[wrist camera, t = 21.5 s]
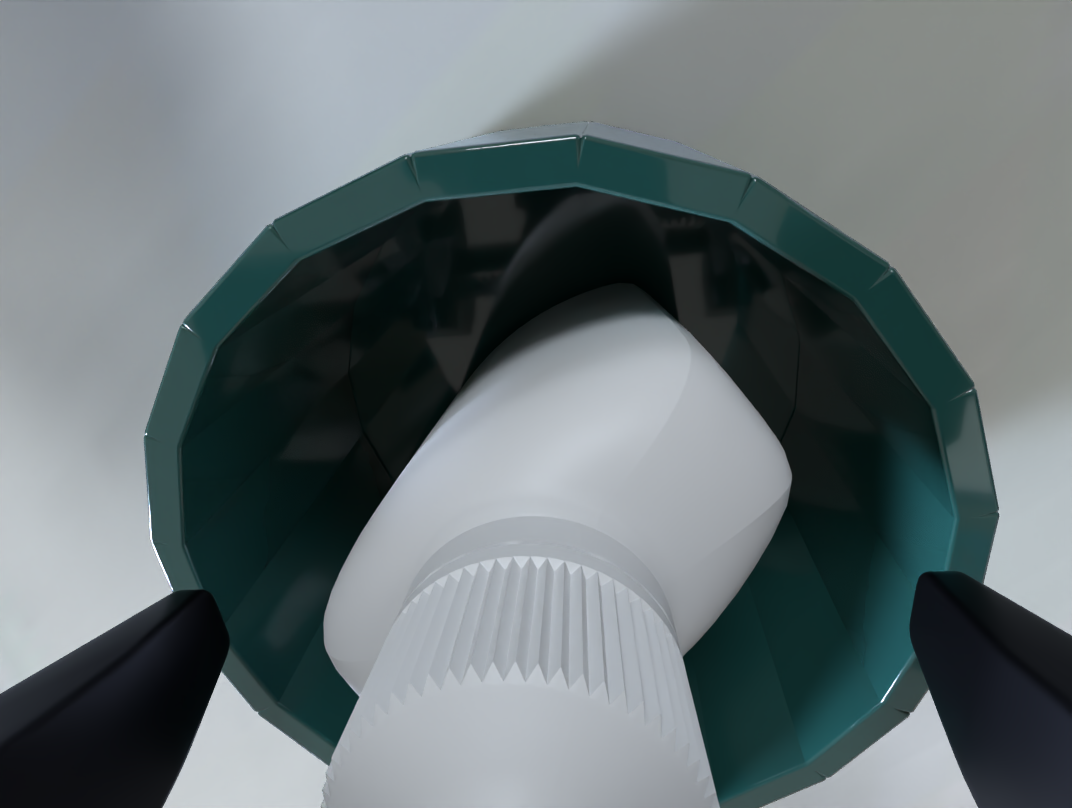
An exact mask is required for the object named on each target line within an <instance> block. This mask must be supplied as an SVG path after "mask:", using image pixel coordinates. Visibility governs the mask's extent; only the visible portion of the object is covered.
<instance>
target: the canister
mask: <svg viewBox="0 0 1072 808" xmlns="http://www.w3.org/2000/svg"><path fill="white" fill-rule="evenodd" d="M615 283H630V284H634V285H636V286H637V287H639V288H640V289H642V290H643V291H645V292H646V293H647V294H649V295H650V296H651V297H652V298H653V299H654V300H655V301H656V302H657V303H659V304H660V305H661V306H662V307H663V308H664V309H665V310H666V311H667V312H668V313H669V314H670V315H672V316H673V317H674V318H675V319H676V320H677V321H678V322H679V323H680V324H681V325H682V326H683V327H684V328H685V329H686V330H687V331H689V332H690V333H691V334H692V335H693V337H694V338H695V339H696V340H697V341H698V342H699V343H700V344H701V345H702V346H703V347H704V348H705V349H706V351H707V352H708V353H709V354H710V355H711V356H712V357H713V358H714V359H715V361H716V362H717V363H718V364H719V365H720V366H721V367H722V368H723V369H724V371H725V372H726V373H727V374H728V375H729V376H730V378H731V379H732V380H733V381H734V383H735V384H736V385H737V386H738V388H739V389H740V390H741V391H742V393H743V394H744V395H745V396H746V398H747V399H748V400H749V401H750V403H751V404H752V405H753V406H754V408H755V409H756V410H757V411H758V413H759V414H760V415H761V416H762V418H763V419H764V420H765V422H766V423H767V425H768V426H769V427H770V429H771V430H772V432H773V433H774V434H775V436H776V437H777V439H778V440H779V442H780V444H781V446H782V447H783V449H784V451H785V454H786V457H787V460H788V463H789V466H790V469H791V472H792V482H791V487H790V492H789V498H788V503H787V507H786V509H785V511H784V513H783V515H782V518H781V520H780V522H779V524H778V526H777V528H776V531H775V533H774V535H773V537H772V539H771V541H770V542H769V544H768V546H767V547H766V549H765V551H764V552H763V554H762V556H761V558H760V559H759V561H758V563H757V564H756V566H755V567H754V569H753V571H752V572H751V574H750V575H749V577H748V578H747V580H746V581H745V583H744V584H743V586H742V587H741V589H740V590H739V592H738V593H737V594H736V596H735V597H734V598H733V599H732V601H731V602H730V603H729V604H728V606H727V607H726V608H725V610H724V611H723V612H722V613H721V615H720V616H719V617H718V619H717V620H716V621H715V622H714V624H713V625H712V626H711V627H710V628H709V629H708V630H707V632H706V633H705V634H704V635H703V636H702V637H701V638H700V639H699V641H698V642H697V643H696V644H695V645H694V646H693V647H692V648H691V649H690V650H689V651H688V652H687V653H686V654H685V655H684V656H683V661H684V665H685V669H686V674H687V678H688V682H689V686H690V690H691V694H692V698H693V702H694V706H695V710H696V714H697V718H698V722H699V726H700V730H701V734H702V738H703V742H704V746H705V750H706V754H707V758H708V762H709V766H710V770H711V774H712V778H713V782H714V786H715V790H716V795H717V799H718V803H719V807H720V808H760V807H763V806H765V805H767V804H770V803H772V802H775V801H777V800H779V799H782V798H784V797H786V796H789V795H791V794H794V793H796V792H798V791H801V790H803V789H805V788H808V787H810V786H813V785H815V784H817V783H820V782H822V781H824V780H825V779H826V778H829V777H831V776H832V775H834V774H835V773H836V772H838V771H839V770H840V769H842V768H843V767H844V766H845V765H847V764H848V763H849V762H851V761H852V760H853V759H855V758H856V757H857V756H858V755H860V754H861V753H862V752H864V751H865V750H866V749H867V748H869V747H870V746H871V745H873V744H874V743H875V742H877V741H878V740H879V739H880V738H882V737H883V736H884V735H886V734H887V733H888V732H890V731H891V730H892V729H893V728H895V727H896V726H897V725H899V724H900V723H901V722H902V721H904V720H905V719H906V718H908V717H909V715H910V713H911V712H913V711H914V710H915V709H916V707H917V706H918V704H919V703H920V701H921V700H922V698H923V697H924V696H925V694H926V693H927V691H928V690H929V688H928V685H927V683H926V680H925V677H924V675H923V672H922V670H921V667H920V664H919V662H918V659H917V657H916V654H915V651H914V649H913V646H912V643H911V638H910V632H909V625H910V618H911V613H912V607H913V601H914V596H915V590H916V585H917V581H918V578H919V577H920V575H921V574H922V573H925V572H928V571H959V572H962V573H964V574H966V575H968V576H970V577H972V578H973V579H975V580H977V581H979V582H980V583H982V584H983V583H984V579H985V575H986V570H987V566H988V562H989V558H990V553H991V549H992V545H993V541H994V536H995V532H996V528H997V524H998V519H999V513H998V510H999V507H998V501H997V496H996V491H995V485H994V480H993V475H992V469H991V464H990V459H989V454H988V448H987V443H986V438H985V432H984V427H983V422H982V416H981V411H980V406H979V400H978V395H977V390H976V389H975V388H974V387H975V386H974V382H973V380H972V379H971V378H970V376H969V375H968V373H967V372H966V370H965V369H964V367H963V366H962V364H961V363H960V362H959V360H958V359H957V357H956V356H955V354H954V353H953V351H952V350H951V349H950V347H949V346H948V344H947V343H946V341H945V340H944V338H943V337H942V335H941V334H940V333H939V331H938V330H937V328H936V327H935V325H934V324H933V322H932V321H931V319H930V318H929V317H928V315H927V314H926V312H925V311H924V309H923V308H922V306H921V305H920V304H919V302H918V301H917V299H916V298H915V296H914V295H913V293H912V292H911V290H910V289H909V288H908V286H907V285H906V283H905V282H904V280H903V279H902V277H901V276H900V274H899V273H898V272H897V270H896V269H895V268H893V267H891V266H890V265H889V263H888V262H887V261H886V260H884V259H883V258H881V257H880V256H878V255H877V254H875V253H874V252H872V251H871V250H869V249H868V248H866V247H865V246H863V245H862V244H860V243H859V242H857V241H856V240H854V239H852V238H851V237H849V236H848V235H846V234H845V233H843V232H842V231H840V230H839V229H837V228H836V227H834V226H833V225H831V224H830V223H828V222H827V221H825V220H824V219H822V218H821V217H819V216H818V215H816V214H815V213H813V212H812V211H810V210H809V209H807V208H805V207H804V206H802V205H801V204H799V203H798V202H796V201H795V200H793V199H792V198H790V197H789V196H787V195H786V194H784V193H783V192H781V191H780V190H778V189H777V188H775V187H774V186H772V185H771V184H769V183H768V182H766V181H765V180H763V179H762V178H760V177H758V176H756V175H753V174H751V173H749V172H747V171H744V170H742V169H740V168H737V167H735V166H733V165H730V164H728V163H726V162H723V161H721V160H719V159H716V158H714V157H712V156H709V155H707V154H705V153H702V152H700V151H698V150H695V149H693V148H691V147H689V146H686V145H684V144H682V143H679V142H677V141H673V140H669V139H665V138H661V137H656V136H652V135H648V134H644V133H639V132H635V131H631V130H627V129H623V128H619V127H614V126H610V125H605V124H601V123H597V122H593V121H591V122H589V123H588V122H587V121H581V122H572V123H563V124H555V125H543V126H537V127H528V128H519V129H510V130H501V131H497V132H493V133H489V134H485V135H481V136H476V137H472V138H468V139H464V140H460V141H456V142H452V143H447V144H443V145H439V146H435V147H431V148H427V149H423V150H418V151H415V152H413V153H408V154H404V155H402V156H400V157H398V158H396V159H394V160H392V161H390V162H388V163H386V164H384V165H382V166H380V167H378V168H376V169H374V170H372V171H370V172H368V173H366V174H364V175H362V176H360V177H358V178H356V179H354V180H352V181H350V182H348V183H346V184H344V185H342V186H340V187H338V188H336V189H334V190H332V191H330V192H328V193H326V194H324V195H322V196H320V197H318V198H316V199H314V200H312V201H310V202H308V203H306V204H304V205H302V206H300V207H298V208H296V209H294V210H292V211H290V212H288V213H286V214H284V215H282V216H280V217H279V218H277V219H275V220H274V221H273V223H272V224H269V225H267V226H266V227H265V228H264V229H263V231H262V232H261V233H260V234H259V235H258V236H257V237H256V238H255V240H254V241H253V242H252V243H251V244H250V245H249V246H248V248H247V249H246V250H245V251H244V252H243V253H242V254H241V255H240V257H239V258H238V259H237V260H236V261H235V262H234V263H233V265H232V266H231V267H230V268H229V269H228V270H227V271H226V272H225V274H224V275H223V276H222V277H221V278H220V279H219V280H218V282H217V283H216V284H215V285H214V286H213V287H212V288H211V289H210V291H209V292H208V293H207V294H206V295H205V296H204V297H203V298H202V300H201V301H200V302H199V303H198V304H197V305H196V306H195V308H194V309H193V310H192V311H191V312H190V313H189V314H188V315H187V317H186V318H185V319H184V322H183V324H182V325H181V326H180V328H179V331H178V334H177V337H176V340H175V343H174V346H173V349H172V352H171V355H170V358H169V361H168V364H167V367H166V370H165V373H164V376H163V379H162V382H161V385H160V388H159V391H158V394H157V397H156V400H155V403H154V406H153V409H152V412H151V415H150V418H149V421H148V424H147V427H146V430H145V434H146V435H145V436H144V450H145V464H146V479H147V494H148V509H149V524H150V538H151V541H153V543H152V546H153V548H154V550H155V553H156V555H157V557H158V559H159V562H160V564H161V566H162V569H163V571H164V573H165V576H166V578H167V580H168V583H169V585H170V587H171V589H172V592H173V593H174V592H176V591H179V590H200V589H203V590H207V591H209V592H210V593H211V594H212V595H213V596H214V598H215V600H216V603H217V605H218V608H219V610H220V613H221V615H222V618H223V620H224V623H225V625H226V628H227V630H228V633H229V638H230V646H229V651H228V655H227V658H226V660H225V663H224V665H223V668H222V670H221V671H222V673H223V674H224V675H225V676H226V677H227V679H228V680H229V681H230V682H231V683H232V685H233V686H234V687H235V688H236V689H237V691H238V692H239V693H240V694H241V695H242V697H243V698H244V699H245V700H246V701H247V703H248V704H249V705H250V706H251V707H252V709H253V710H254V711H256V712H258V714H259V715H260V716H261V717H262V718H264V719H265V720H266V721H268V722H269V723H270V724H272V725H273V726H275V727H276V728H277V729H279V730H280V731H281V732H283V733H284V734H286V735H287V736H288V737H290V738H291V739H292V740H294V741H295V742H296V743H298V744H299V745H301V746H302V747H303V748H305V749H306V750H307V751H309V752H310V753H311V754H313V755H314V756H316V757H317V758H318V759H320V760H321V761H322V762H324V763H325V764H327V765H328V766H329V765H330V763H331V761H332V759H331V757H332V755H333V753H334V751H335V749H336V747H337V744H338V742H339V740H340V738H341V736H342V734H343V731H344V729H345V727H346V725H347V723H348V721H349V718H350V716H351V714H352V712H353V710H354V708H355V705H356V703H357V701H358V699H359V696H358V695H357V694H356V693H355V692H354V690H353V689H352V688H351V687H350V686H349V685H348V683H347V682H346V681H345V680H344V679H343V677H342V676H341V675H340V674H339V673H338V671H337V670H336V669H335V667H334V665H333V663H332V661H331V659H330V657H329V655H328V653H327V651H326V649H325V645H324V625H323V622H324V614H325V611H326V607H327V604H328V601H329V598H330V595H331V591H332V589H333V587H334V585H335V582H336V580H337V578H338V575H339V573H340V571H341V569H342V567H343V565H344V563H345V561H346V559H347V557H348V555H349V554H350V552H351V550H352V548H353V546H354V544H355V543H356V541H357V539H358V537H359V535H360V534H361V532H362V531H363V529H364V527H365V526H366V524H367V523H368V521H369V520H370V518H371V517H372V515H373V514H374V512H375V511H376V509H377V508H378V506H379V505H380V503H381V502H382V500H383V499H384V497H385V496H386V495H387V493H388V492H389V490H390V489H391V487H392V486H393V484H394V483H395V481H396V480H397V479H398V477H399V476H400V474H401V473H402V471H403V470H404V469H405V467H406V466H407V464H408V463H409V462H410V460H411V459H412V457H413V456H414V455H415V453H416V452H417V450H418V449H419V447H420V446H421V445H422V443H423V442H424V440H425V439H426V438H427V436H428V435H429V433H430V432H431V430H432V429H433V428H434V426H435V425H436V423H437V422H438V421H439V419H440V418H441V416H442V415H443V414H444V412H445V411H446V409H447V408H448V407H449V405H450V404H451V402H452V401H453V400H454V398H455V397H456V395H457V394H458V393H459V391H460V390H461V388H462V387H463V386H464V384H465V383H466V382H467V380H468V379H469V378H470V376H471V375H472V374H473V372H474V371H475V370H476V369H477V368H478V367H479V365H480V364H481V363H482V362H483V361H484V360H485V359H486V358H487V356H488V355H489V354H490V353H491V352H492V351H493V350H494V349H495V348H496V347H497V346H499V345H500V344H501V343H502V342H503V341H504V340H505V339H506V338H507V337H509V336H510V335H511V334H512V333H514V332H515V331H516V330H517V329H519V328H520V327H522V326H523V325H524V324H526V323H527V322H529V321H530V320H531V319H533V318H535V317H536V316H538V315H539V314H541V313H543V312H544V311H546V310H548V309H550V308H552V307H554V306H555V305H557V304H559V303H561V302H564V301H566V300H568V299H570V298H572V297H575V296H577V295H580V294H582V293H585V292H587V291H590V290H593V289H596V288H599V287H602V286H607V285H611V284H615Z"/></svg>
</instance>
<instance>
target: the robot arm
mask: <svg viewBox="0 0 1072 808" xmlns="http://www.w3.org/2000/svg"><path fill="white" fill-rule="evenodd" d="M909 632H910V638H911V643H912V646H913V649H914V651H915V654H916V657H917V659H918V662H919V664H920V667H921V670H922V672H923V675H924V677H925V680H926V683H927V685H928V688H929V690H930V693H931V696H932V698H933V701H934V703H935V706H936V709H937V711H938V714H939V717H940V719H941V722H942V724H943V727H944V730H945V732H946V735H947V737H948V740H949V743H950V745H951V748H952V750H953V753H954V755H955V758H956V760H957V763H958V765H959V768H960V770H961V772H962V775H963V777H964V779H965V781H966V783H967V785H968V787H969V789H970V792H971V794H972V796H973V798H974V800H975V802H976V804H977V806H978V808H1072V635H1070V634H1068V633H1066V632H1065V631H1063V630H1061V629H1059V628H1058V627H1056V626H1054V625H1053V624H1051V623H1049V622H1047V621H1046V620H1044V619H1042V618H1041V617H1039V616H1037V615H1035V614H1034V613H1032V612H1030V611H1028V610H1027V609H1025V608H1023V607H1022V606H1020V605H1018V604H1016V603H1015V602H1013V601H1011V600H1010V599H1008V598H1006V597H1004V596H1003V595H1001V594H999V593H997V592H996V591H994V590H992V589H991V588H989V587H987V586H985V585H984V584H982V583H980V582H979V581H977V580H975V579H973V578H972V577H970V576H968V575H966V574H964V573H962V572H959V571H928V572H925V573H922V574H921V575H920V577H919V578H918V581H917V585H916V590H915V596H914V601H913V607H912V613H911V618H910V625H909ZM229 646H230V638H229V633H228V630H227V628H226V625H225V623H224V620H223V618H222V615H221V613H220V610H219V608H218V605H217V603H216V600H215V598H214V596H213V595H212V594H211V593H210V592H209V591H207V590H203V589H200V590H179V591H176V592H174V593H172V594H170V595H168V596H167V597H165V598H163V599H161V600H160V601H158V602H156V603H155V604H153V605H151V606H149V607H148V608H146V609H144V610H143V611H141V612H139V613H138V614H136V615H134V616H132V617H131V618H129V619H127V620H126V621H124V622H122V623H120V624H119V625H117V626H115V627H114V628H112V629H110V630H108V631H107V632H105V633H103V634H102V635H100V636H98V637H97V638H95V639H93V640H91V641H90V642H88V643H86V644H85V645H83V646H81V647H79V648H78V649H76V650H74V651H73V652H71V653H69V654H68V655H66V656H64V657H62V658H61V659H59V660H57V661H56V662H54V663H52V664H50V665H49V666H47V667H45V668H44V669H42V670H40V671H39V672H37V673H35V674H33V675H32V676H30V677H28V678H27V679H25V680H23V681H21V682H20V683H18V684H16V685H15V686H13V687H11V688H9V689H8V690H6V691H4V692H3V693H1V694H0V808H162V807H163V805H164V804H165V802H166V800H167V798H168V796H169V794H170V792H171V790H172V788H173V786H174V784H175V781H176V779H177V777H178V775H179V773H180V771H181V769H182V767H183V765H184V762H185V760H186V758H187V755H188V753H189V750H190V748H191V746H192V743H193V741H194V738H195V736H196V733H197V731H198V728H199V726H200V723H201V721H202V718H203V716H204V713H205V711H206V708H207V706H208V703H209V700H210V698H211V695H212V693H213V690H214V688H215V685H216V683H217V680H218V678H219V675H220V673H221V670H222V668H223V665H224V663H225V660H226V658H227V655H228V651H229Z"/></svg>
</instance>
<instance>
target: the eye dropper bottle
mask: <svg viewBox="0 0 1072 808" xmlns="http://www.w3.org/2000/svg"><path fill="white" fill-rule="evenodd" d="M791 482H792V472H791V469H790V466H789V463H788V460H787V457H786V454H785V451H784V449H783V447H782V446H781V444H780V442H779V440H778V439H777V437H776V436H775V434H774V433H773V432H772V430H771V429H770V427H769V426H768V425H767V423H766V422H765V420H764V419H763V418H762V416H761V415H760V414H759V413H758V411H757V410H756V409H755V408H754V406H753V405H752V404H751V403H750V401H749V400H748V399H747V398H746V396H745V395H744V394H743V393H742V391H741V390H740V389H739V388H738V386H737V385H736V384H735V383H734V381H733V380H732V379H731V378H730V376H729V375H728V374H727V373H726V372H725V371H724V369H723V368H722V367H721V366H720V365H719V364H718V363H717V362H716V361H715V359H714V358H713V357H712V356H711V355H710V354H709V353H708V352H707V351H706V349H705V348H704V347H703V346H702V345H701V344H700V343H699V342H698V341H697V340H696V339H695V338H694V337H693V335H692V334H691V333H690V332H689V331H687V330H686V329H685V328H684V327H683V326H682V325H681V324H680V323H679V322H678V321H677V320H676V319H675V318H674V317H673V316H672V315H670V314H669V313H668V312H667V311H666V310H665V309H664V308H663V307H662V306H661V305H660V304H659V303H657V302H656V301H655V300H654V299H653V298H652V297H651V296H650V295H649V294H647V293H646V292H645V291H643V290H642V289H640V288H639V287H637V286H636V285H634V284H630V283H615V284H611V285H607V286H602V287H599V288H596V289H593V290H590V291H587V292H585V293H582V294H580V295H577V296H575V297H572V298H570V299H568V300H566V301H564V302H561V303H559V304H557V305H555V306H554V307H552V308H550V309H548V310H546V311H544V312H543V313H541V314H539V315H538V316H536V317H535V318H533V319H531V320H530V321H529V322H527V323H526V324H524V325H523V326H522V327H520V328H519V329H517V330H516V331H515V332H514V333H512V334H511V335H510V336H509V337H507V338H506V339H505V340H504V341H503V342H502V343H501V344H500V345H499V346H497V347H496V348H495V349H494V350H493V351H492V352H491V353H490V354H489V355H488V356H487V358H486V359H485V360H484V361H483V362H482V363H481V364H480V365H479V367H478V368H477V369H476V370H475V371H474V372H473V374H472V375H471V376H470V378H469V379H468V380H467V382H466V383H465V384H464V386H463V387H462V388H461V390H460V391H459V393H458V394H457V395H456V397H455V398H454V400H453V401H452V402H451V404H450V405H449V407H448V408H447V409H446V411H445V412H444V414H443V415H442V416H441V418H440V419H439V421H438V422H437V423H436V425H435V426H434V428H433V429H432V430H431V432H430V433H429V435H428V436H427V438H426V439H425V440H424V442H423V443H422V445H421V446H420V447H419V449H418V450H417V452H416V453H415V455H414V456H413V457H412V459H411V460H410V462H409V463H408V464H407V466H406V467H405V469H404V470H403V471H402V473H401V474H400V476H399V477H398V479H397V480H396V481H395V483H394V484H393V486H392V487H391V489H390V490H389V492H388V493H387V495H386V496H385V497H384V499H383V500H382V502H381V503H380V505H379V506H378V508H377V509H376V511H375V512H374V514H373V515H372V517H371V518H370V520H369V521H368V523H367V524H366V526H365V527H364V529H363V531H362V532H361V534H360V535H359V537H358V539H357V541H356V543H355V544H354V546H353V548H352V550H351V552H350V554H349V555H348V557H347V559H346V561H345V563H344V565H343V567H342V569H341V571H340V573H339V575H338V578H337V580H336V582H335V585H334V587H333V589H332V591H331V595H330V598H329V601H328V604H327V607H326V611H325V614H324V622H323V625H324V645H325V649H326V651H327V653H328V655H329V657H330V659H331V661H332V663H333V665H334V667H335V669H336V670H337V671H338V673H339V674H340V675H341V676H342V677H343V679H344V680H345V681H346V682H347V683H348V685H349V686H350V687H351V688H352V689H353V690H354V692H355V693H356V694H357V695H358V696H359V699H358V701H357V703H356V705H355V708H354V710H353V712H352V714H351V716H350V718H349V721H348V723H347V725H346V727H345V729H344V731H343V734H342V736H341V738H340V740H339V742H338V744H337V747H336V749H335V751H334V753H333V755H332V757H331V759H332V761H331V763H330V765H329V767H328V770H327V772H326V778H327V780H326V782H325V785H324V787H323V789H322V791H323V795H324V800H323V802H322V805H321V808H720V807H719V803H718V799H717V795H716V790H715V786H714V782H713V778H712V774H711V770H710V766H709V762H708V758H707V754H706V750H705V746H704V742H703V738H702V734H701V730H700V726H699V722H698V718H697V714H696V710H695V706H694V702H693V698H692V694H691V690H690V686H689V682H688V678H687V674H686V669H685V665H684V661H683V656H684V655H685V654H686V653H687V652H688V651H689V650H690V649H691V648H692V647H693V646H694V645H695V644H696V643H697V642H698V641H699V639H700V638H701V637H702V636H703V635H704V634H705V633H706V632H707V630H708V629H709V628H710V627H711V626H712V625H713V624H714V622H715V621H716V620H717V619H718V617H719V616H720V615H721V613H722V612H723V611H724V610H725V608H726V607H727V606H728V604H729V603H730V602H731V601H732V599H733V598H734V597H735V596H736V594H737V593H738V592H739V590H740V589H741V587H742V586H743V584H744V583H745V581H746V580H747V578H748V577H749V575H750V574H751V572H752V571H753V569H754V567H755V566H756V564H757V563H758V561H759V559H760V558H761V556H762V554H763V552H764V551H765V549H766V547H767V546H768V544H769V542H770V541H771V539H772V537H773V535H774V533H775V531H776V528H777V526H778V524H779V522H780V520H781V518H782V515H783V513H784V511H785V509H786V507H787V503H788V498H789V492H790V487H791Z"/></svg>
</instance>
